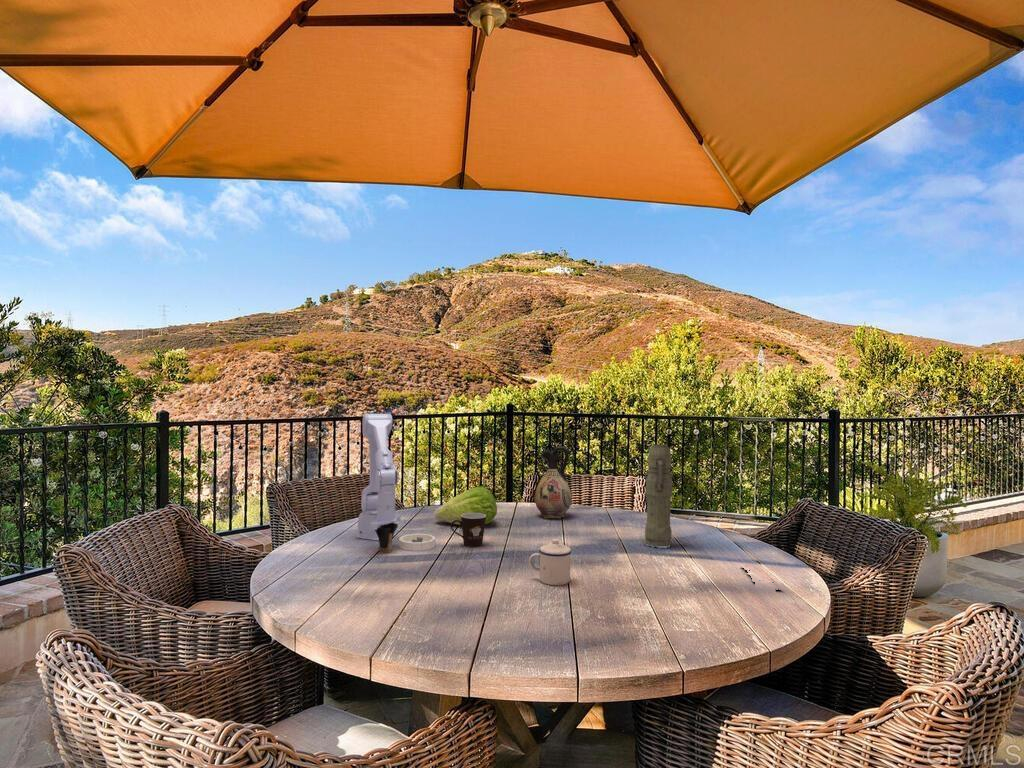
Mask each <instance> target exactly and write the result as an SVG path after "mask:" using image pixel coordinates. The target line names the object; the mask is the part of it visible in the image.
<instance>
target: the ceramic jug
mask: <svg viewBox="0 0 1024 768" xmlns="http://www.w3.org/2000/svg"><path fill="white" fill-rule="evenodd" d="M558 452H562V453H563V454H564V460H563V463H562V465H561V468H559V466H558V463H560V462H561V461H562V458H561V457H560V456H559V454H557V453H558ZM538 457H539V458H541V459H544V460H545V461H547V462H548V468H547V469H546V471H545V472H544V474H543V475H542V477H541V478H540V480H539V482H538V484H537V486H536V489H535V493H534V503H535V506H536V508H537V510H538V511H539V512H540V514H541V517H542V516H543V517H546V518H545V519H547V518H559V519H562V518H561V517H563V518H565V517H564V516H566V515H565V514H566V513H567V512H568V510H569V509H570V508H571V505H572V500H573V499H572V491H571V488H570V485H569V482H567V481H568V480H567V476H566V473H565V471H566V468H567V464H568V461H569V459H570V454H569V450H568V448H567V447H565V446H562V445H561V446H556V447H554V448H553V450H552V452H551V451H550V449H549V448H546V450H544V451H543V452H542V453H540V455H539V456H538ZM543 517H542V518H543Z"/></svg>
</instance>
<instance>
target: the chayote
mask: <svg viewBox="0 0 1024 768" xmlns="http://www.w3.org/2000/svg"><path fill="white" fill-rule="evenodd" d="M466 513H481V514H485V515H486V520H485V525H487V524H490V523H491V522H492V521H493V520H494V519H495V517H496V515H497V513H498V505H497V502H496V498H495V496H494V494H493V493H492V492H491V491H490V489H488V488H486V487H484V486H474V487H472V488H470V489H466V490H465V491H463V492H461V493H460V494H458V495H456V496H454V497H452V498H449V500H447V501H446V502H445V503H444V504H442V505H441V506H440V507H438V508H437V509H435V511H434V517H435V519H436V520H437V521H438V522H440V521H441V522H446V523H449V524H451V523H452V522H453V521H455V520H459V521H461V515H462V514H466ZM453 525H457V526H461V524H460V523H459V522H455V523H453Z"/></svg>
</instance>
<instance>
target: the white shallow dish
mask: <svg viewBox="0 0 1024 768" xmlns="http://www.w3.org/2000/svg"><path fill="white" fill-rule="evenodd" d="M398 547H399V549H401V550H405V551H410V552H415V551H416V552H418V551H419V552H421V551H422V552H423V551H427V550H432V549H433V548H435V547H436V536H434V535H431V534H427V533H410V534H404V535H402V536H400V537H399V539H398Z"/></svg>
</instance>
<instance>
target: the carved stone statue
mask: <svg viewBox="0 0 1024 768" xmlns="http://www.w3.org/2000/svg"><path fill="white" fill-rule="evenodd" d="M671 453H672V452H671V451H670V447H669V446H668V445H666V444H653V445H651V446H650V448H649V451H648V464H647V465H648V471H647V472H648V473H647V477H646V480H645V484H646V485H645V486H646V487H645V495H646V498H647V499H646V500H647V501H646V502H647V503H646V504H647V505H646V524H645V528H644V537H645V542H646V544H648V545H652V546H669V545H670V544H671V543H672V542H671V541H672V534H673V533H672V532H673V531H672V528H671V498H672V496H673V479H672V476H671V473H672V472H671V467H672V465H671V464H672V462H671V461H672V454H671ZM646 544H645V545H646Z"/></svg>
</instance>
